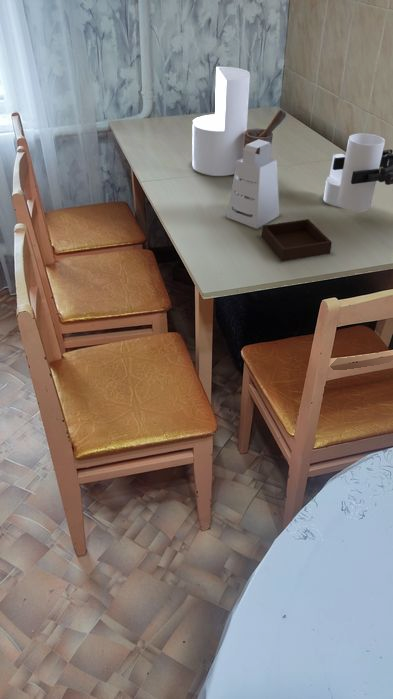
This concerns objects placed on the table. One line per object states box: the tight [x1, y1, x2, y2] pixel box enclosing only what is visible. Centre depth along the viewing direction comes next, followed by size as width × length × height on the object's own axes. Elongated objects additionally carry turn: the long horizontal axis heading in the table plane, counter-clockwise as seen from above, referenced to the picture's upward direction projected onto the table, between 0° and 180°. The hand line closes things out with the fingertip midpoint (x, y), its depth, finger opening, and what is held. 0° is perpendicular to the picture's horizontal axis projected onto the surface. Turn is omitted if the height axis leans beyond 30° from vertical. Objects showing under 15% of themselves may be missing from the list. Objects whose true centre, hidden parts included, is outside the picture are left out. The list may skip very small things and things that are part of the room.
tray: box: [260, 218, 333, 262], centre depth 137 cm, size 13×13×3 cm
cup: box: [337, 132, 386, 212], centre depth 131 cm, size 8×8×16 cm
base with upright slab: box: [323, 153, 346, 208], centre depth 156 cm, size 9×9×12 cm
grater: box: [225, 139, 280, 229], centre depth 144 cm, size 10×10×20 cm
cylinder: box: [191, 65, 251, 177], centre depth 171 cm, size 17×17×28 cm
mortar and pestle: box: [244, 109, 287, 155], centre depth 168 cm, size 12×9×20 cm
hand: (343, 170), depth 129 cm, fingers closed on cup, 8 cm apart
